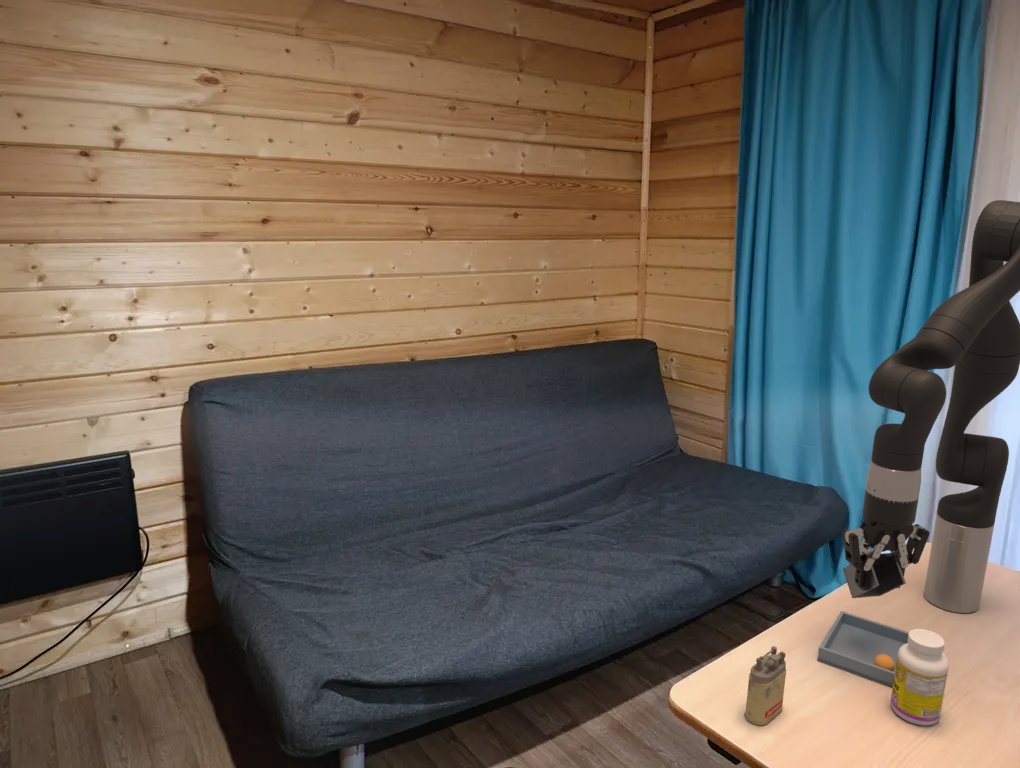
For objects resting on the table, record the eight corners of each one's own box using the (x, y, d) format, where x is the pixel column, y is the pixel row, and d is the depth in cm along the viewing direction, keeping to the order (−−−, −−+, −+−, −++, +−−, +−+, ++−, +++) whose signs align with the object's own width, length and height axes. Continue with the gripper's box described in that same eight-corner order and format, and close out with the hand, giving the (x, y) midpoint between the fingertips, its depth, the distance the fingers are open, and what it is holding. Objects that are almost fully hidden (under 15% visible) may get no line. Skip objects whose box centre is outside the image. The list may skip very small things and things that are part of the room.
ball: (872, 652, 121) (880, 649, 119) (891, 660, 121) (899, 657, 118) (869, 670, 120) (877, 668, 117) (888, 678, 119) (896, 675, 117)
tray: (839, 622, 134) (840, 610, 133) (913, 647, 127) (915, 634, 126) (817, 660, 123) (819, 647, 123) (896, 689, 116) (898, 675, 116)
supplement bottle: (895, 691, 116) (907, 619, 112) (943, 710, 112) (956, 635, 108) (884, 714, 111) (896, 639, 107) (934, 734, 107) (948, 657, 103)
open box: (842, 568, 126) (866, 554, 119) (869, 566, 127) (894, 552, 120) (852, 598, 124) (876, 585, 117) (879, 596, 124) (906, 583, 117)
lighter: (760, 729, 108) (767, 670, 105) (738, 715, 110) (743, 657, 108) (786, 708, 112) (793, 650, 109) (764, 695, 115) (770, 639, 112)
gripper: (863, 502, 112) (850, 602, 116) (950, 497, 114) (933, 596, 118) (836, 483, 119) (824, 578, 123) (918, 479, 121) (903, 572, 125)
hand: (878, 586), depth 121 cm, fingers closed on open box, 5 cm apart
